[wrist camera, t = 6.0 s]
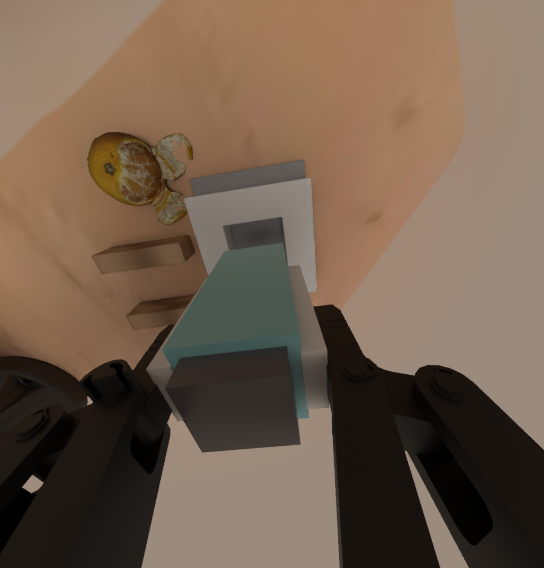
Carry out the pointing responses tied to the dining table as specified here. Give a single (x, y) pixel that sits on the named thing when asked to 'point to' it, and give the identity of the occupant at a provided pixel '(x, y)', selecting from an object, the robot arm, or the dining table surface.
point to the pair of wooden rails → (147, 257)
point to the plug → (240, 355)
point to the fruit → (139, 171)
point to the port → (255, 214)
